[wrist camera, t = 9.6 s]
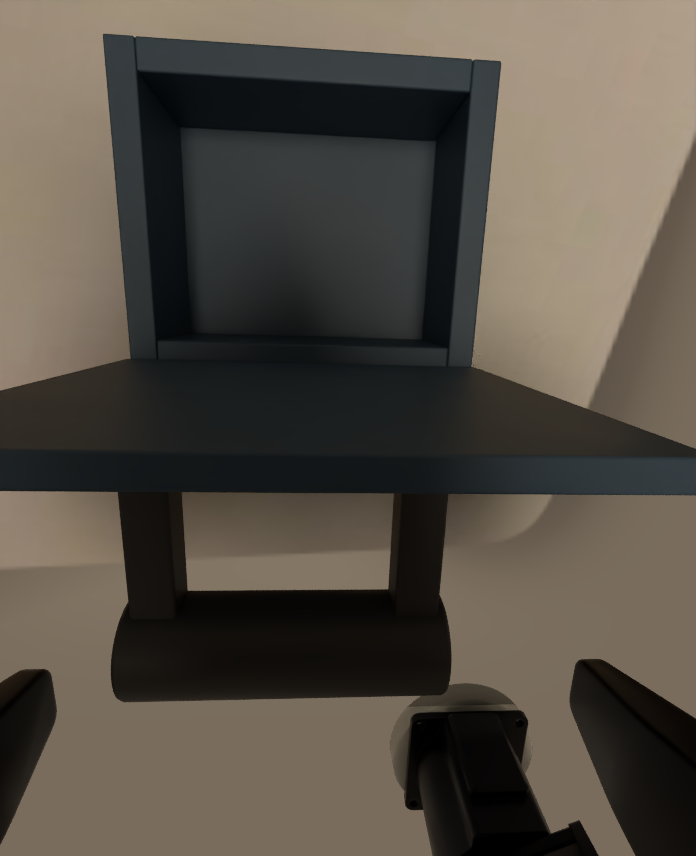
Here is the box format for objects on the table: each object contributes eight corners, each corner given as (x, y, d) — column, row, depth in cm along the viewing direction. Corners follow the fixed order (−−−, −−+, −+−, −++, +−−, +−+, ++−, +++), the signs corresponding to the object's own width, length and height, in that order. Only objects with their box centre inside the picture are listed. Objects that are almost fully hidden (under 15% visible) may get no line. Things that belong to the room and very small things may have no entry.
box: (162, 109, 17) (101, 32, 12) (453, 126, 17) (501, 60, 13) (177, 351, 19) (130, 365, 14) (435, 357, 19) (471, 373, 15)
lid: (-228, 447, 5) (-134, 781, 6) (723, 458, 6) (652, 756, 7) (126, 358, 14) (138, 499, 15) (475, 367, 14) (461, 501, 16)
